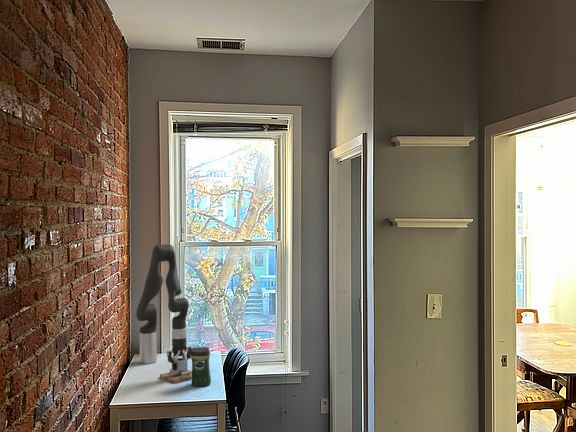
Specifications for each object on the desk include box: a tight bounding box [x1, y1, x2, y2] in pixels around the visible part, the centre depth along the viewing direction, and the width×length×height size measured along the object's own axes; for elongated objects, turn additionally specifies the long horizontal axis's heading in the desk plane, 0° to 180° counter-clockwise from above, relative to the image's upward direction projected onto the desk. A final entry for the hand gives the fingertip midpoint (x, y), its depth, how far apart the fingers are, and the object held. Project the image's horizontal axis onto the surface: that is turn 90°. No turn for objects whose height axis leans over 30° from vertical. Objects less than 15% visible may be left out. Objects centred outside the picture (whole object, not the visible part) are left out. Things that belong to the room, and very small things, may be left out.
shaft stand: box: [159, 368, 192, 385], centre depth 295 cm, size 15×15×8 cm
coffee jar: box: [190, 346, 212, 387], centre depth 282 cm, size 10×8×19 cm
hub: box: [171, 357, 189, 373], centre depth 295 cm, size 6×6×6 cm
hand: (179, 368), depth 295 cm, fingers closed on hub, 5 cm apart
